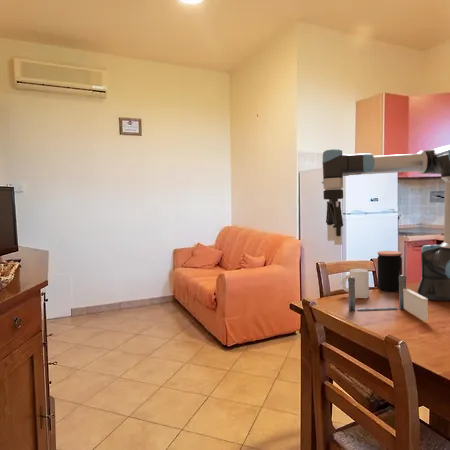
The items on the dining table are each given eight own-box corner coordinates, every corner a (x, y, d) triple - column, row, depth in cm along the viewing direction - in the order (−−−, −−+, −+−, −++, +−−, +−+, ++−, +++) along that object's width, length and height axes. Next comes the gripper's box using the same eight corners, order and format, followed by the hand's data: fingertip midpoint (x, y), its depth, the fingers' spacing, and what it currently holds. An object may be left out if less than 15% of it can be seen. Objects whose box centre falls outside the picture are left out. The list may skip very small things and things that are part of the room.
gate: (403, 308, 145) (403, 288, 144) (407, 308, 145) (407, 288, 144) (422, 320, 130) (422, 299, 129) (428, 320, 130) (427, 298, 129)
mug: (340, 293, 174) (339, 268, 173) (367, 294, 171) (366, 268, 171) (342, 298, 166) (341, 272, 165) (370, 298, 163) (369, 272, 163)
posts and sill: (404, 307, 149) (404, 274, 148) (407, 309, 146) (407, 275, 145) (347, 309, 149) (346, 276, 148) (349, 311, 147) (348, 277, 146)
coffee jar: (404, 292, 172) (404, 253, 171) (380, 292, 174) (379, 254, 173) (398, 287, 182) (398, 250, 181) (375, 286, 184) (375, 250, 183)
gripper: (318, 190, 160) (319, 239, 161) (329, 188, 135) (331, 246, 136) (336, 189, 159) (337, 238, 160) (350, 187, 134) (352, 246, 136)
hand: (334, 242), depth 148 cm, fingers open, 13 cm apart
